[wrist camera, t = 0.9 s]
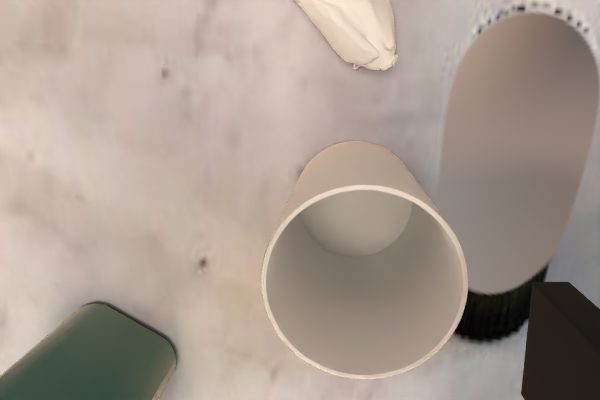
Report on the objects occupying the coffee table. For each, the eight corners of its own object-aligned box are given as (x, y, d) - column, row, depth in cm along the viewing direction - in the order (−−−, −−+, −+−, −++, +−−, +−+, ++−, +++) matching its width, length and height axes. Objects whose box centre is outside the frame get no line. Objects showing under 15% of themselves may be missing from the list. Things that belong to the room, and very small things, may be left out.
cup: (390, 274, 38) (422, 407, 22) (279, 235, 38) (234, 341, 22) (434, 164, 36) (503, 225, 21) (317, 123, 36) (298, 154, 21)
